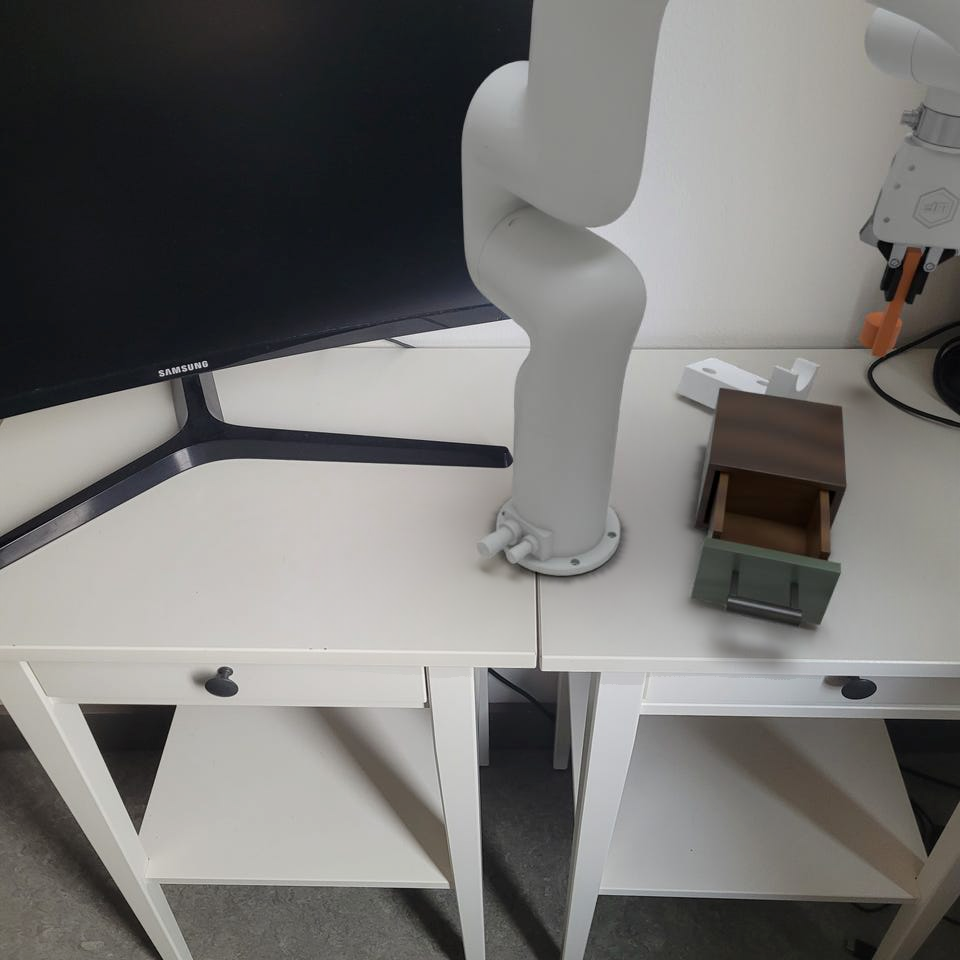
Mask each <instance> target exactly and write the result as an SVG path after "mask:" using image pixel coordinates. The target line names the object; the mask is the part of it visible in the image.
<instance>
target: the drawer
mask: <svg viewBox="0 0 960 960" xmlns="http://www.w3.org/2000/svg"><path fill="white" fill-rule="evenodd" d="M831 543H832V542H831V531H830V512H829V490H826V489H820V488H814V487H809V486H803V485H797V484H792V483H786V482H780V481H775V480H769V479H763V478H758V477H752V476H746V475H740V474H735V473H729V472H723V471H720V473H719V477H718V481H717V485H716V490H715V494H714V498H713V502H712V507H711V512H710V519H709V527H708V530H707V535H706V536H704V537H703V541H702V546H701V548H700V549H701V550H700V554H699V557H698V562H697V566H696V571H695V575H694V579H693V583H692V588H691V594H690V598H691V599H695V600H700V601H705V602H708V603H714V604H719V605H723V606H724V613H725V614H729V615H733V616H738V617H743V618H747V619H752V620H757V621H761V622H766V623H771V624H775V625H779V626H784V627H788V628H794V629H800V626H801V624H802V622H803V623H807V624H813V625H818V626H820V625H821V624H822V622H823V619H824V617H825V614H826V612H827V609H828V606H829V604H830V601H831V599H832V596H833V595H834V591H835V589H836V587H837V584H838V582H839V579H840V577H841V574H842V566H841V565H842V563H841V562H836V561H830V560H829V558H830V556H831V553H832V545H831Z"/></svg>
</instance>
